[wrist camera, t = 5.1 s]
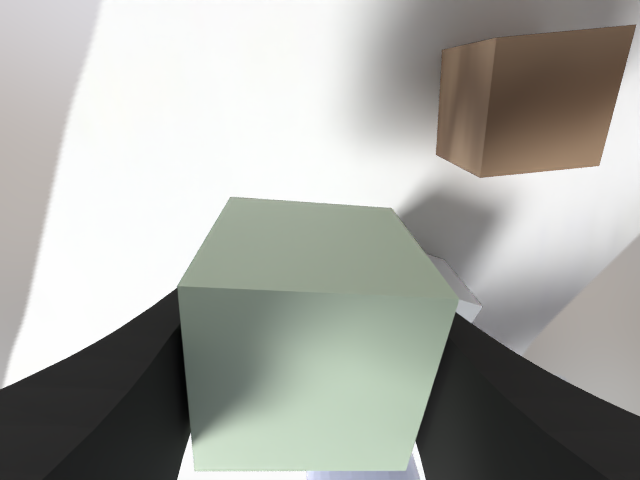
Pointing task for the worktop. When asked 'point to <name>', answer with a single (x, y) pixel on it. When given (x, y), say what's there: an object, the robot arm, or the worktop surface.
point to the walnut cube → (530, 100)
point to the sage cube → (310, 338)
